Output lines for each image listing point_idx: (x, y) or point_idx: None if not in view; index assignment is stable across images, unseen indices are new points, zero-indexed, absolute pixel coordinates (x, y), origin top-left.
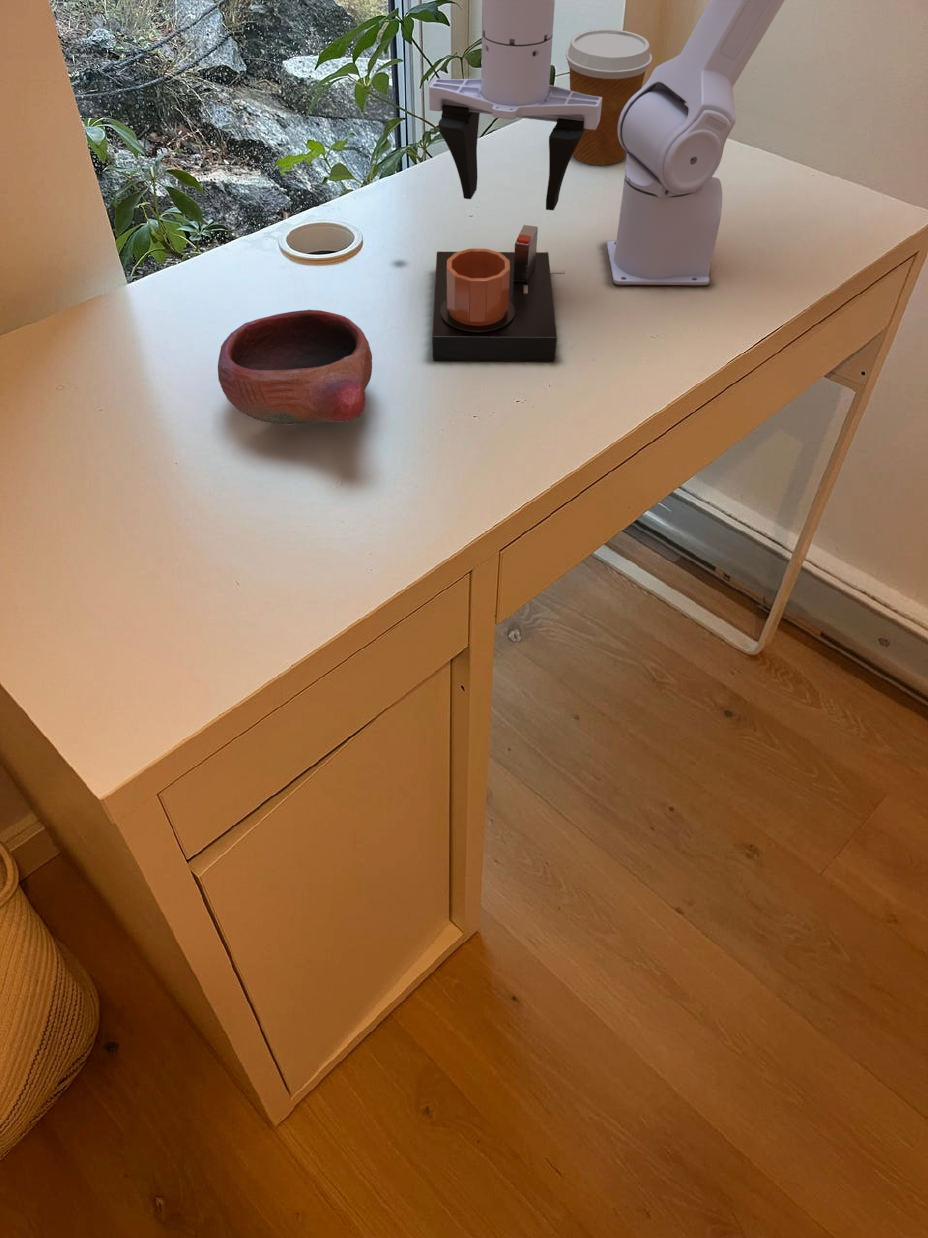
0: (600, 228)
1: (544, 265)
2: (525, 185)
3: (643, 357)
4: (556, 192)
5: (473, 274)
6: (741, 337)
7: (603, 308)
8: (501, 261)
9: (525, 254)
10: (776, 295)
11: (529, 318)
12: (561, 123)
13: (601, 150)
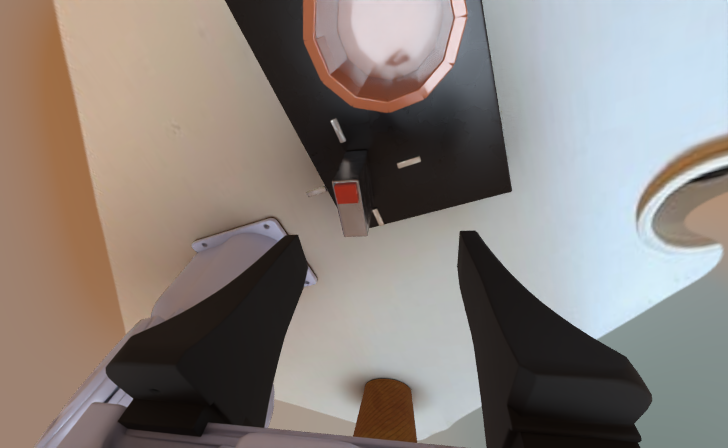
0: (339, 303)
1: None
2: (437, 348)
3: (154, 73)
4: (261, 257)
5: (412, 78)
6: (104, 164)
7: (261, 168)
8: (342, 81)
9: (341, 172)
10: (136, 244)
11: (294, 43)
12: (182, 417)
13: (378, 391)
